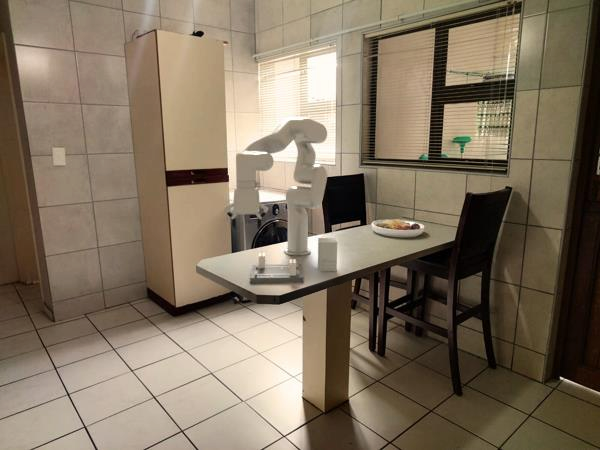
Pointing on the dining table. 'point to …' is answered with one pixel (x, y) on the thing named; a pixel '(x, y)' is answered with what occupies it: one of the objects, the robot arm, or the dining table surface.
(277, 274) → the console
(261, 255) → the block
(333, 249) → the supplement box
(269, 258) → the dining table surface
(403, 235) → the bowl
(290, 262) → the block
